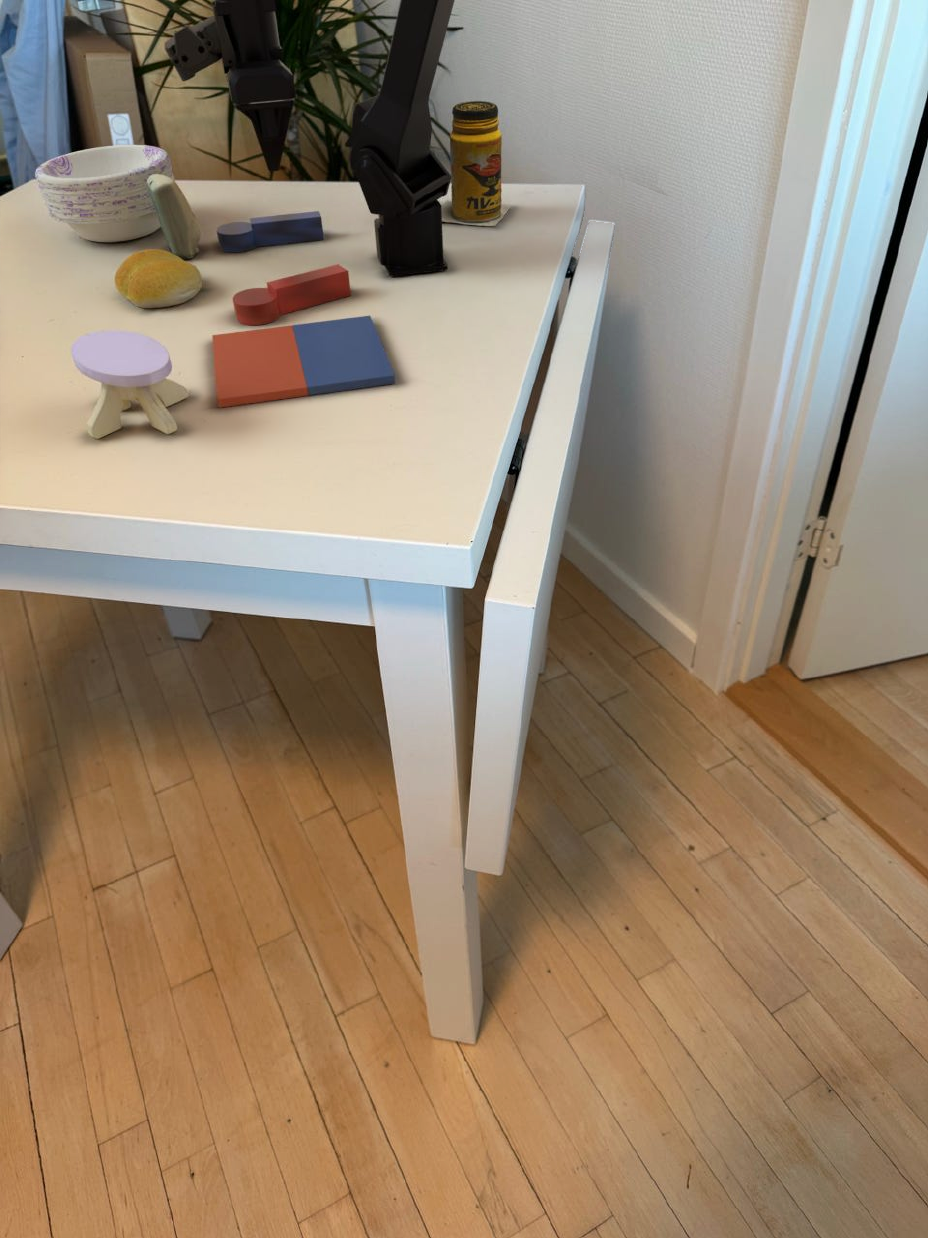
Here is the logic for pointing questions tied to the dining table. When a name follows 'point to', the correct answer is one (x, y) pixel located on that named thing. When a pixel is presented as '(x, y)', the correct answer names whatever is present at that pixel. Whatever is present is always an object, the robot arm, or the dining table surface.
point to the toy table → (127, 378)
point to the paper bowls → (104, 190)
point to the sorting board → (299, 361)
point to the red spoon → (291, 295)
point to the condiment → (475, 166)
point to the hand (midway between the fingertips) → (270, 159)
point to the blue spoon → (270, 231)
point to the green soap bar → (174, 216)
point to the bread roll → (157, 279)
